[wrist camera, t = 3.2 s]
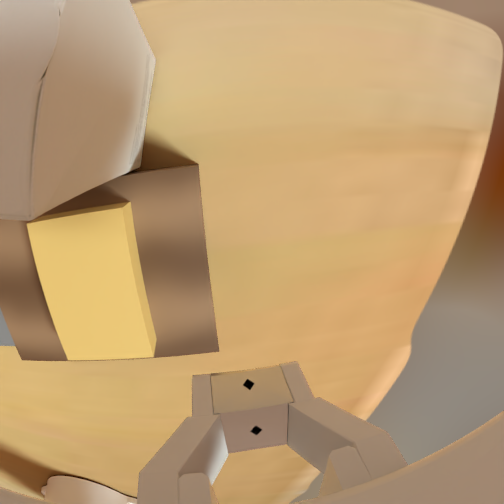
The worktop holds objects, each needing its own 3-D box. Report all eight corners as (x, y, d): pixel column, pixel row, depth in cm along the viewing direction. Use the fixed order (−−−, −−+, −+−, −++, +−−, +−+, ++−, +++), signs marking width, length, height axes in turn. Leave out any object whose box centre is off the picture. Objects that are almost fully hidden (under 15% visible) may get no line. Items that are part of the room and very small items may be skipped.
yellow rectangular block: (156, 339, 19) (153, 357, 17) (76, 343, 18) (68, 360, 17) (130, 201, 16) (122, 207, 14) (41, 216, 16) (26, 223, 14)
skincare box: (77, 58, 16) (-58, -31, 2) (164, 57, 17) (112, -94, 3) (60, 170, 19) (-111, 216, 4) (146, 174, 20) (30, 227, 5)
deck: (215, 321, 24) (219, 351, 20) (39, 334, 22) (22, 360, 18) (198, 164, 20) (198, 166, 16) (3, 198, 18) (-26, 208, 14)
